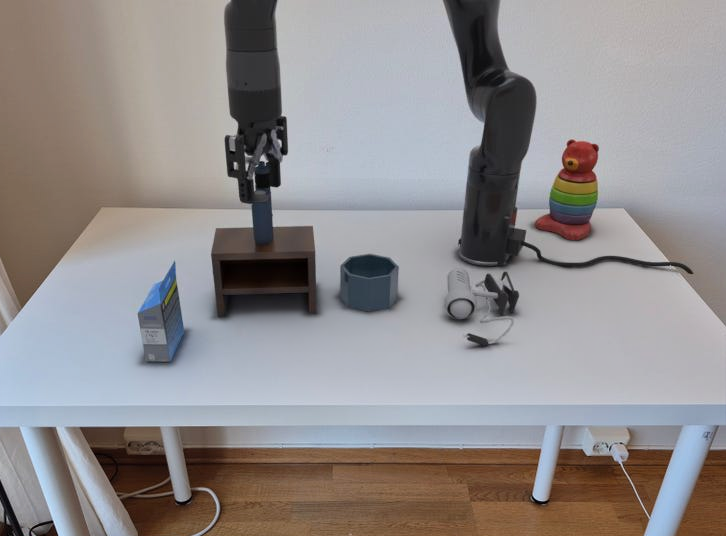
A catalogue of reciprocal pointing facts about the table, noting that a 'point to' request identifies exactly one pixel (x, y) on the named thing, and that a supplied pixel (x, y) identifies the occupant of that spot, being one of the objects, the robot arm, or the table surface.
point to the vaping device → (262, 206)
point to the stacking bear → (573, 193)
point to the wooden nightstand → (264, 264)
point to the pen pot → (369, 282)
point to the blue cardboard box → (161, 319)
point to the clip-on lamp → (463, 297)
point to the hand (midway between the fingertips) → (261, 194)
